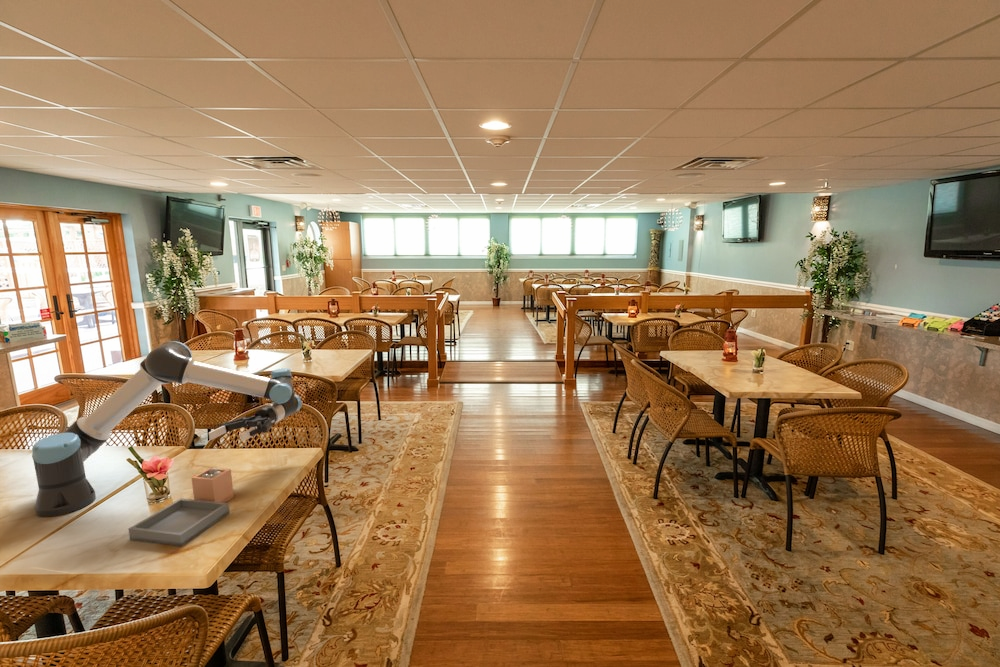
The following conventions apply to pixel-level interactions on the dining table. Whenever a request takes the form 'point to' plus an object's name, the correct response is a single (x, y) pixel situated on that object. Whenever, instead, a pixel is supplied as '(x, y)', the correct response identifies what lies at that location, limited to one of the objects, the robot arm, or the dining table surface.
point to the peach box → (213, 485)
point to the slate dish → (179, 522)
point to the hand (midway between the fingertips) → (225, 437)
